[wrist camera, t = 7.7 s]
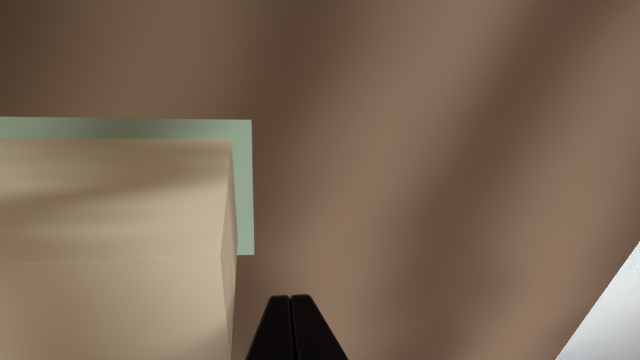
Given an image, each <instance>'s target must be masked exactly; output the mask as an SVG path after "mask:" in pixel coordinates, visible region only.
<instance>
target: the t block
mask: <svg viewBox="0 0 640 360" xmlns="http://www.w3.org/2000/svg"><path fill="white" fill-rule="evenodd" d="M237 246H238V234H237V216H236V198H235V180H234V163H233V145H232V139H104V138H0V360H231V347H232V330H233V313H234V296H235V279H236V263H237Z"/></svg>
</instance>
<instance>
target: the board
mask: <svg viewBox="0 0 640 360" xmlns="http://www.w3.org/2000/svg"><path fill="white" fill-rule="evenodd" d="M0 138H104V139H232V145H233V163H234V180H235V198H236V216H237V234H238V246H237V263H236V279H235V296H234V313H233V330H232V347H231V360H244V359H245V357H246V354H247V352H248V349H249V347H250V344H251V342H252V339H253V337H254V334H255V332H256V329H257V327H258V324H259V321H260V319H261V316H262V314H263V311H264V309H265V306H266V304H267V301H268V299H269V297H270V296H272V295H288V296H289V297H291V295H294V294H309V295H310V296H311V297H312V299H313V300H314V302H315V304H316V305H317V307H318V309H319V310H320V312H321V314H322V315H323V317H324V319H325V320H326V322H327V324H328V325H329V327H330V329H331V330H332V332H333V334H334V336H335V337H336V339H337V341H338V342H339V344H340V346H341V347H342V349H343V351H344V352H345V354H346V356H347V357H348V359H349V360H555V359H556V357H557V356H558V355H559V353H560V352H561V350H562V349H563V348H564V346H565V345H566V343H567V342H568V341H569V339H570V338H571V336H572V335H573V334H574V332H575V331H576V329H577V328H578V327H579V325H580V324H581V322H582V321H583V320H584V318H585V317H586V315H587V314H588V313H589V311H590V310H591V308H592V307H593V306H594V304H595V303H596V302H597V300H598V299H599V297H600V296H601V295H602V293H603V292H604V290H605V289H606V288H607V286H608V285H609V283H610V282H611V281H612V279H613V278H614V276H615V275H616V274H617V272H618V271H619V269H620V268H621V267H622V265H623V264H624V262H625V261H626V260H627V258H628V257H629V255H630V254H631V253H632V251H633V250H634V248H635V247H636V246H637V244H638V243H639V241H640V0H0Z"/></svg>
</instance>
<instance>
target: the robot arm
mask: <svg viewBox="0 0 640 360" xmlns="http://www.w3.org/2000/svg"><path fill="white" fill-rule="evenodd" d="M244 360H349V359H348V357H347V356H346V354H345V352H344V351H343V349H342V347H341V346H340V344H339V342H338V341H337V339H336V337H335V336H334V334H333V332H332V330H331V329H330V327H329V325H328V324H327V322H326V320H325V319H324V317H323V315H322V314H321V312H320V310H319V309H318V307H317V305H316V304H315V302H314V300H313V299H312V297H311V296H310V295H309V294H294V295H291V297H289V296H288V295H272V296H270V297H269V299H268V301H267V304H266V306H265V309H264V311H263V314H262V316H261V319H260V321H259V324H258V327H257V329H256V332H255V334H254V337H253V339H252V342H251V344H250V347H249V349H248V352H247V354H246V357H245V359H244Z"/></svg>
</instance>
